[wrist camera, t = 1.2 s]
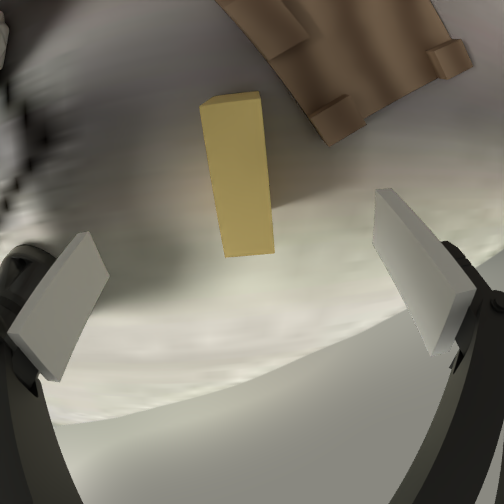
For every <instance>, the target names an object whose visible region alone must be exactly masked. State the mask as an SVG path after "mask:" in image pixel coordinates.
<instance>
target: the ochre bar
mask: <svg viewBox="0 0 504 504" xmlns="http://www.w3.org/2000/svg"><path fill="white" fill-rule="evenodd" d="M199 109H200V115H201V122H202V128H203V134H204V141H205V147H206V153H207V159H208V165H209V171H210V177H211V183H212V188H213V194H214V200H215V205H216V211H217V217H218V222H219V228H220V233H221V239H222V244H223V249H224V255H225V257H237V256H249V255H261V254H272V253H275V250H274V237H273V225H272V213H271V201H270V190H269V178H268V167H267V157H266V146H265V136H264V126H263V116H262V106H261V98H260V95H259V91H254V92H244V93H235V94H227V95H219V96H213V97H212V98H210V99H209V100H208V101H206V102H205V103H203V104H202V105H200V106H199Z"/></svg>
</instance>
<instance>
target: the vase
mask: <svg viewBox="0 0 504 504" xmlns="http://www.w3.org/2000/svg"><path fill="white" fill-rule="evenodd" d="M8 35H9V28H8V26H7V25H6V24H5V22H4V14H3V12H1V11H0V70H1V69H2V67H3V65H4V59H5V53H6V46H7V41H8Z"/></svg>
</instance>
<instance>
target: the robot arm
mask: <svg viewBox="0 0 504 504" xmlns="http://www.w3.org/2000/svg"><path fill="white" fill-rule="evenodd" d="M373 246H374V247H375V249H376V251H377V252H378V254H379V256H380V258H381V260H382V261H383V263H384V265H385V267H386V268H387V270H388V272H389V274H390V276H391V278H392V279H393V281H394V283H395V285H396V287H397V289H398V291H399V293H400V295H401V297H402V299H403V300H404V302H405V304H406V306H407V308H408V310H409V312H410V314H411V316H412V319H413V321H414V323H415V325H416V327H417V329H418V331H419V333H420V335H421V337H422V340H423V342H424V344H425V346H426V348H427V350H428V353H429V355H430V357H432V356H435V355H439V354H442V353H446V352H449V351H450V349H451V347H452V345H453V343H454V341H455V340H456V342H457V344H458V346H459V348H460V349H459V351H458V352H457V354H456V356H455V358H454V360H453V362H452V364H451V365H450V367H449V368H451V369H452V370H451V373H450V377H449V379H448V382H447V385H446V388H445V391H444V394H443V396H442V399H441V402H440V404H439V406H438V409H437V411H436V414H435V416H434V419H433V421H432V423H431V426H430V428H429V430H428V433H427V435H426V437H425V439H424V441H423V443H422V445H421V447H420V450H419V451H418V454H417V455H416V457H415V459H414V461H413V463H412V465H411V467H410V469H409V471H408V472H407V474H406V476H405V478H404V479H403V481H402V483H401V485H400V486H399V488H398V490H397V491H396V493H395V495H394V496H393V498H392V499H391V501H390V503H389V504H475V501H476V499H477V497H478V495H479V492H480V490H481V488H482V485H483V483H484V480H485V478H486V475H487V472H488V470H489V467H490V464H491V461H492V458H493V455H494V452H495V449H496V446H497V442H498V439H499V435H500V431H501V428H502V424H503V420H504V292H501V291H497V290H493V291H492V290H491V288H490V287H489V286H488V285H487V283H486V282H485V281H484V279H483V278H482V277H481V276H480V274H479V273H478V271H477V270H476V269H475V268H474V266H472V265H471V263H470V262H469V260H468V259H466V258H465V255H464V254H463V253H462V252H461V251H460V250H459V248H457V247H456V246H454V245H453V244H451V243H450V242H448V241H443V242H440V241H439V240H438V238H437V237H436V236H435V235H434V234H433V233H432V231H431V230H430V229H429V228H428V227H427V226H426V225H425V223H424V222H423V221H422V220H421V219H420V218H419V217H418V216H417V215H416V213H415V212H414V211H413V210H412V209H411V208H410V207H409V206H408V205H407V204H406V203H405V202H404V201H403V200H402V199H401V198H400V197H399V195H398V194H397V193H396V192H395V191H394V190H393V189H392V188H388V189H376V190H375V214H374V230H373ZM109 277H110V275H109V273H108V271H107V269H106V267H105V265H104V263H103V261H102V259H101V257H100V254H99V252H98V250H97V248H96V245H95V243H94V241H93V239H92V236H91V234H90V232H89V231H87V232H82V233H77V235H76V236H75V237H74V238H73V239H72V241H71V242H70V243H69V244H68V246H67V247H66V248H65V249H64V251H63V252H62V253H61V254H60V256H59V257H58V258H57V260H56V259H55V258H54V257H53V256H51V255H50V254H48V253H46V252H45V251H43V250H41V249H38V248H36V247H33V246H27V245H23V246H18V247H15V248H14V249H13V250H11V252H10V253H9V254H8V255H7V256H6V257H5V258H4V260H3V261H2V263H1V266H0V504H83V502H82V500H81V498H80V496H79V494H78V492H77V489H76V487H75V485H74V483H73V480H72V478H71V475H70V473H69V471H68V468H67V466H66V463H65V461H64V458H63V455H62V453H61V450H60V447H59V445H58V441H57V439H56V436H55V432H54V429H53V426H52V423H51V419H50V416H49V412H48V409H47V405H46V401H45V398H44V394H43V389H42V385H41V382H40V380H39V379H38V376H39V374H40V373H41V374H42V375H43V376H44V377H45V379H46V380H48V381H55V382H60V381H61V378H62V376H63V374H64V371H65V369H66V366H67V364H68V362H69V359H70V357H71V355H72V352H73V350H74V348H75V346H76V343H77V341H78V339H79V337H80V335H81V333H82V330H83V328H84V326H85V324H86V322H87V320H88V318H89V316H90V314H91V312H92V310H93V308H94V306H95V304H96V302H97V300H98V298H99V296H100V294H101V292H102V290H103V288H104V286H105V284H106V283H107V281H108V279H109ZM495 504H504V444H503V455H502V464H501V472H500V478H499V484H498V490H497V495H496V500H495Z"/></svg>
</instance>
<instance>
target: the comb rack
mask: <svg viewBox="0 0 504 504" xmlns="http://www.w3.org/2000/svg"><path fill="white" fill-rule="evenodd" d="M215 1H216V2H217V3H218V5H219V6H220V7H221V8H222V9H223V10H224V11H225V12H226V13H227V14H228V15H229V17H230V18H231V19H232V20H233V21H234V22H235V23H236V24H237V26H238V27H239V28H240V29H241V30H242V31H243V33H244V34H245V35H246V36H247V37H248V38H249V40H250V41H251V42H252V43H253V44H254V46H255V47H256V48H257V49H258V51H259V52H260V53H261V54H262V56H263V57H264V58H265V59H266V61H267V62H268V63H269V64H270V66H271V67H272V68H273V70H274V71H275V72H276V74H277V75H278V76H279V78H280V79H281V80H282V82H283V83H284V84H285V86H286V87H287V88H288V90H289V91H290V93H291V94H292V95H293V97H294V98H295V100H296V101H297V102H298V104H299V105H300V107H301V108H302V110H303V111H304V112H305V114H306V115H307V117H308V118H309V120H310V121H311V123H312V124H313V126H314V127H315V129H316V130H317V132H318V133H319V135H320V137H321V138H322V140H323V141H324V142H325V143H326V144H327V145H328V146H329V147H330V146H332V145H333V144H335V143H337V142H338V141H340V140H342V139H343V138H345V137H347V136H348V135H350V134H352V133H353V132H355V131H357V130H358V129H360V128H362V127H364V126H365V125H367V124H366V123H365V121H364V118H366V117H368V116H370V115H371V114H373V113H375V112H377V111H378V110H380V109H382V108H384V107H385V106H387V105H389V104H391V103H392V102H394V101H396V100H398V99H400V98H401V97H403V96H405V95H407V94H409V93H411V92H412V91H414V90H416V89H418V88H420V87H422V86H424V85H425V84H427V83H429V82H431V81H433V80H435V79H437V78H440V79H446V80H448V79H450V78H452V77H454V76H456V75H458V74H460V73H462V72H464V71H466V70H468V69H470V68H472V67H473V65H472V62H471V60H470V58H469V55H468V53H467V51H466V49H465V47H464V44H463V42H462V40H461V39H451V38H450V36H449V34H448V32H447V30H446V29H445V27H444V25H443V23H442V21H441V19H440V18H439V16H438V14H437V12H436V11H435V9H434V7H433V6H432V4H431V2H430V1H429V0H215Z"/></svg>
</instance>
